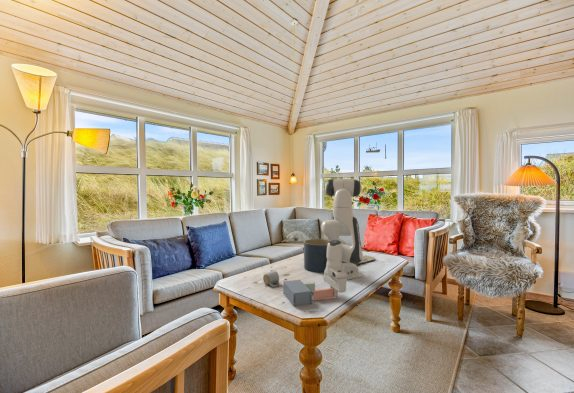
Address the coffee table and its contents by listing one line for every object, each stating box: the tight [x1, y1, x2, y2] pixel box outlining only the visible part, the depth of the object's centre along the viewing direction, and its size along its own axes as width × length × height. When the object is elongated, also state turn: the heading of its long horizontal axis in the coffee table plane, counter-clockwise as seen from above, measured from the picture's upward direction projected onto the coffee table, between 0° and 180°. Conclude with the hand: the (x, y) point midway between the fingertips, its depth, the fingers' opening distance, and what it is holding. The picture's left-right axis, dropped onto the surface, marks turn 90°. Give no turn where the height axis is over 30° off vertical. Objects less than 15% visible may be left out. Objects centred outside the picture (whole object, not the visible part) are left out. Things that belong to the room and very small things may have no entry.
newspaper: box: [355, 255, 376, 266], centre depth 223 cm, size 35×12×4 cm, turn 131°
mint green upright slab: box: [303, 282, 316, 293], centre depth 159 cm, size 14×1×5 cm, turn 108°
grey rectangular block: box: [283, 279, 314, 307], centre depth 152 cm, size 11×18×7 cm, turn 18°
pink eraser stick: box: [313, 287, 339, 301], centre depth 152 cm, size 14×1×5 cm, turn 108°
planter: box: [303, 238, 330, 274], centre depth 207 cm, size 22×22×20 cm
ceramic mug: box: [262, 270, 280, 288], centre depth 173 cm, size 11×8×8 cm
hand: (334, 294), depth 153 cm, fingers closed on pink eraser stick
